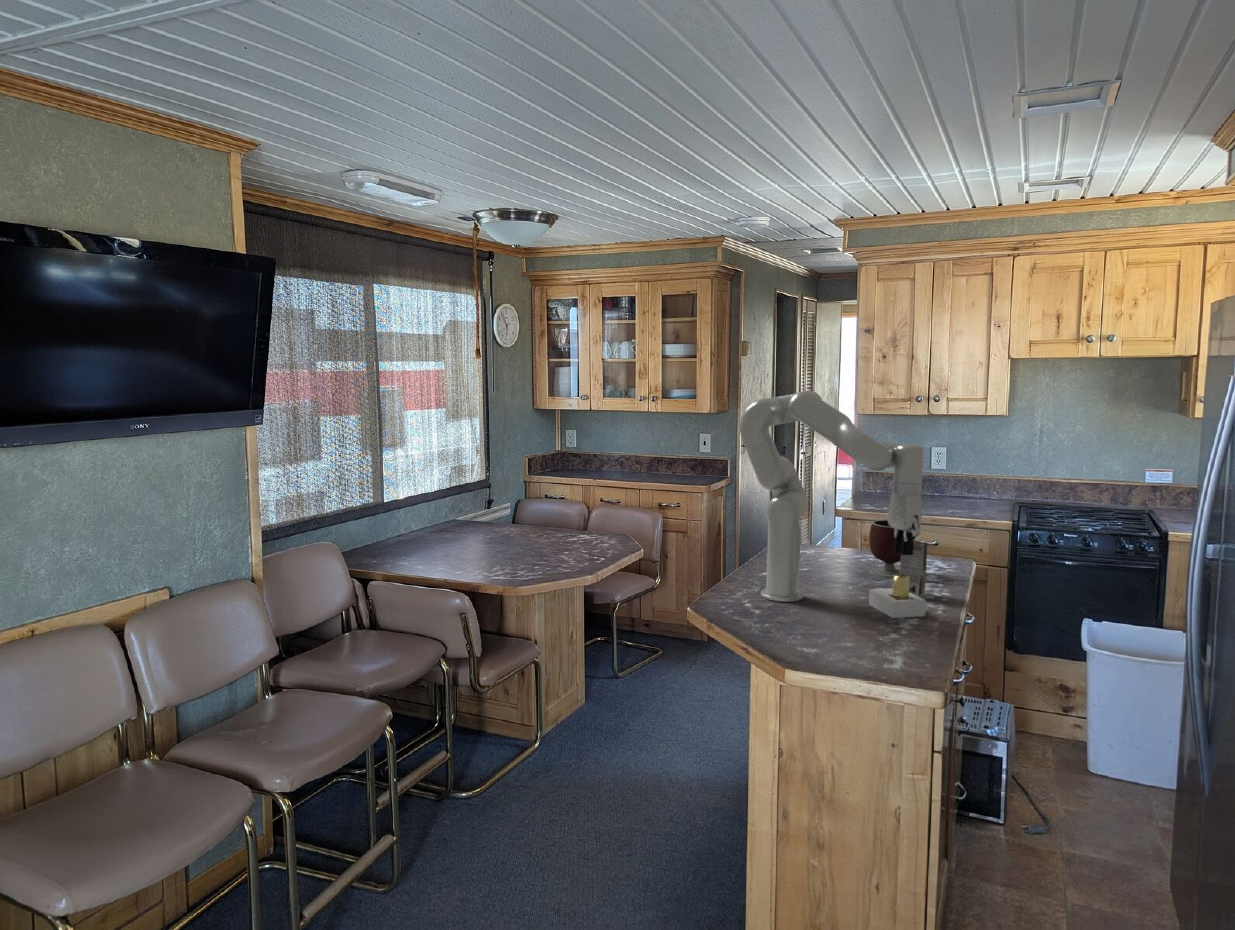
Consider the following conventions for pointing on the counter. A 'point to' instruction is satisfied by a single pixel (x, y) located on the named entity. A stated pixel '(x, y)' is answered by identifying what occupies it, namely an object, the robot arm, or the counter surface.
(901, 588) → the cylinder
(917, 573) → the coffee box
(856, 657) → the counter surface
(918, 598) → the block
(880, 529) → the dark red goblet
